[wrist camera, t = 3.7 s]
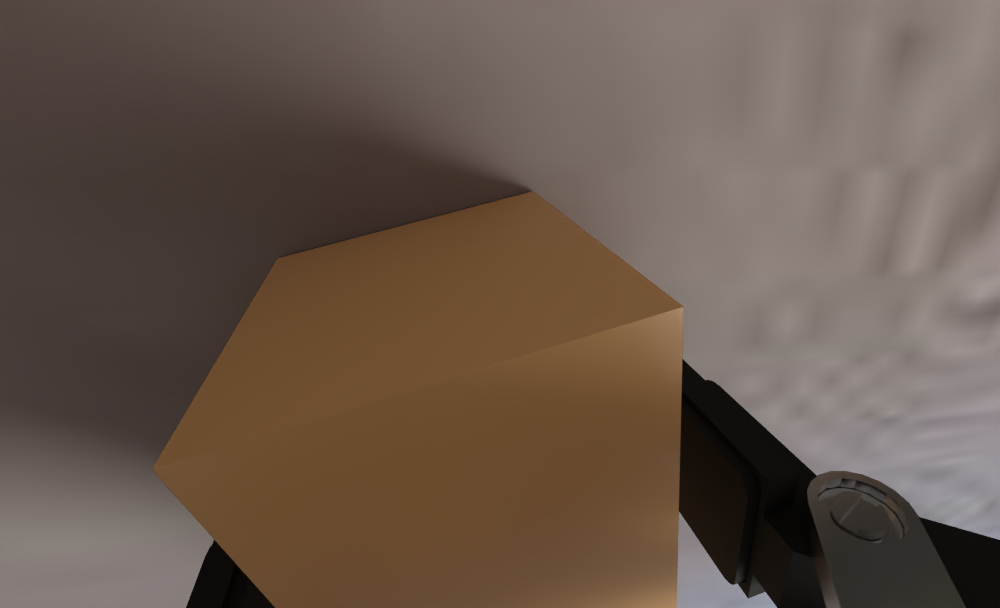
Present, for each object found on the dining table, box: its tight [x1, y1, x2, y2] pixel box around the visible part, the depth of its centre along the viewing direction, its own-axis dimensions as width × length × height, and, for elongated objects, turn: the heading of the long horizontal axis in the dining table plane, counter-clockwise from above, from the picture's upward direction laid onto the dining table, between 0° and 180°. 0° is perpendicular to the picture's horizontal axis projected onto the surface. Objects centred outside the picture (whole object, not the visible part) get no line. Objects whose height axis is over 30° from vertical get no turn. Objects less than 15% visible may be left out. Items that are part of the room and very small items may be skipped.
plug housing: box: [152, 191, 684, 608], centre depth 10 cm, size 5×15×5 cm, turn 11°
